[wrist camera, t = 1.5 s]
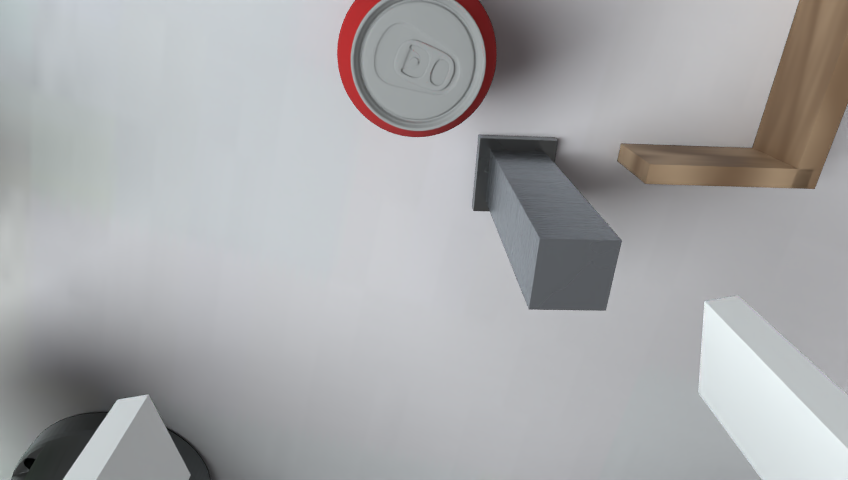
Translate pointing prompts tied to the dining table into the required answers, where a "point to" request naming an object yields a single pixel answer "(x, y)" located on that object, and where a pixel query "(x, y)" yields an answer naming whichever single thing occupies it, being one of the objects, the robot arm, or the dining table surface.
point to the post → (545, 224)
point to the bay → (772, 117)
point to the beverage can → (416, 62)
